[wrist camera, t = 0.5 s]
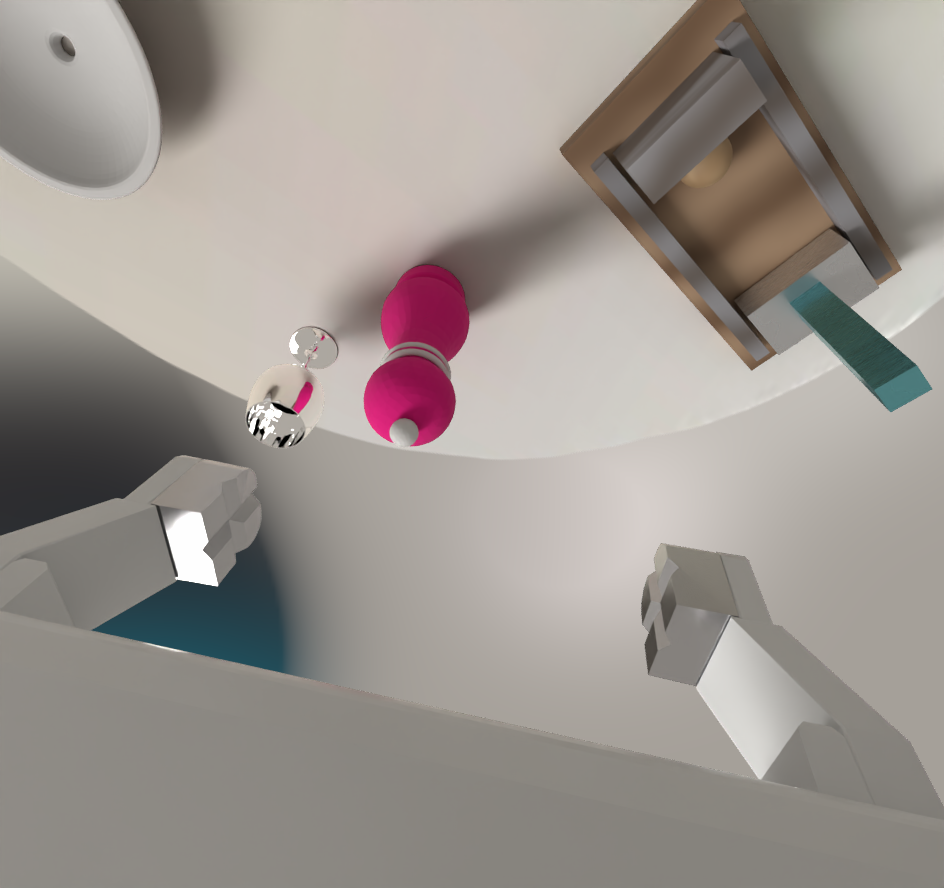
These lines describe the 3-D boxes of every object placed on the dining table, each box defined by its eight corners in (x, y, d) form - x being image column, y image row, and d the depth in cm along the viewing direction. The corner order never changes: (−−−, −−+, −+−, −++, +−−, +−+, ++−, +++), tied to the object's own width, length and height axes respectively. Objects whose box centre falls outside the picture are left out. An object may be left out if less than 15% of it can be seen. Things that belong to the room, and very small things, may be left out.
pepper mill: (487, 289, 48) (486, 431, 32) (442, 349, 51) (422, 501, 36) (415, 241, 45) (378, 369, 30) (374, 307, 49) (321, 452, 33)
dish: (238, 134, 40) (212, 149, 36) (95, 212, 44) (58, 233, 40) (34, -199, 30) (-32, -227, 26) (-128, -59, 34) (-207, -66, 30)
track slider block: (733, 300, 45) (818, 405, 34) (829, 228, 41) (962, 319, 30) (764, 337, 47) (854, 448, 36) (858, 272, 43) (992, 372, 32)
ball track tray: (559, 148, 40) (570, 172, 35) (716, -21, 34) (758, -23, 29) (743, 359, 51) (773, 402, 46) (887, 260, 45) (942, 296, 40)
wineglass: (356, 355, 52) (328, 433, 43) (314, 383, 54) (278, 464, 45) (313, 309, 49) (273, 382, 40) (269, 341, 51) (221, 417, 42)
